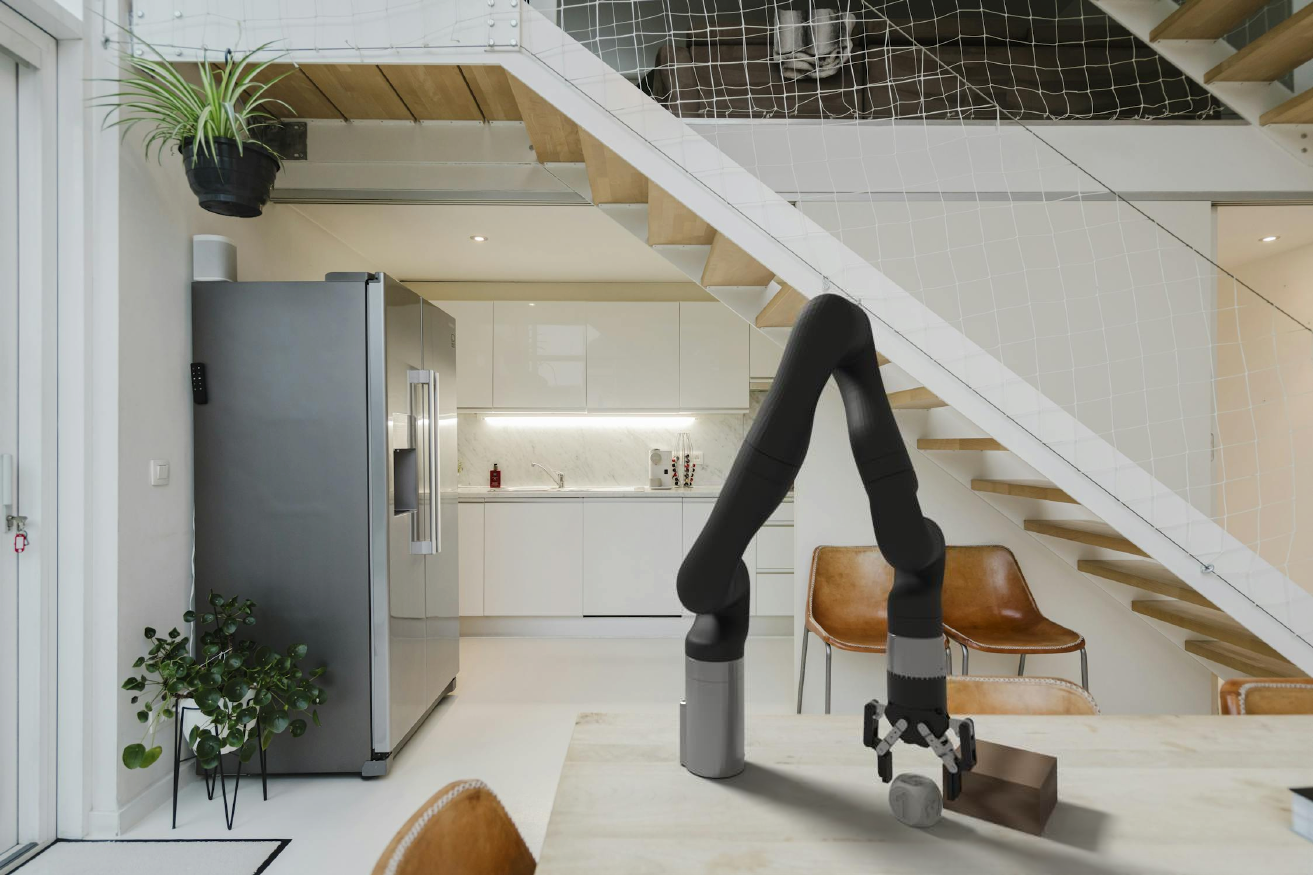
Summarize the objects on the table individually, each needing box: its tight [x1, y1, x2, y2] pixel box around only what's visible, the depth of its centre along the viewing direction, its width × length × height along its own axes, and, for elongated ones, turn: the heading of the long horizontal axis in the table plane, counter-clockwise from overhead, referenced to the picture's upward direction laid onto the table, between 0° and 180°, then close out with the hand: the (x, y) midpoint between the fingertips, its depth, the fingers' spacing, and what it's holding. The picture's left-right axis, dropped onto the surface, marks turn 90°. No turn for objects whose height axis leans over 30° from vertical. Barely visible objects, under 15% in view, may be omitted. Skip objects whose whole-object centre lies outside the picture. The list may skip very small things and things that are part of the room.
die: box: [888, 772, 943, 829], centre depth 97 cm, size 5×5×5 cm
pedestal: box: [941, 738, 1059, 837], centre depth 101 cm, size 12×12×6 cm
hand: (919, 789), depth 97 cm, fingers open, 8 cm apart
